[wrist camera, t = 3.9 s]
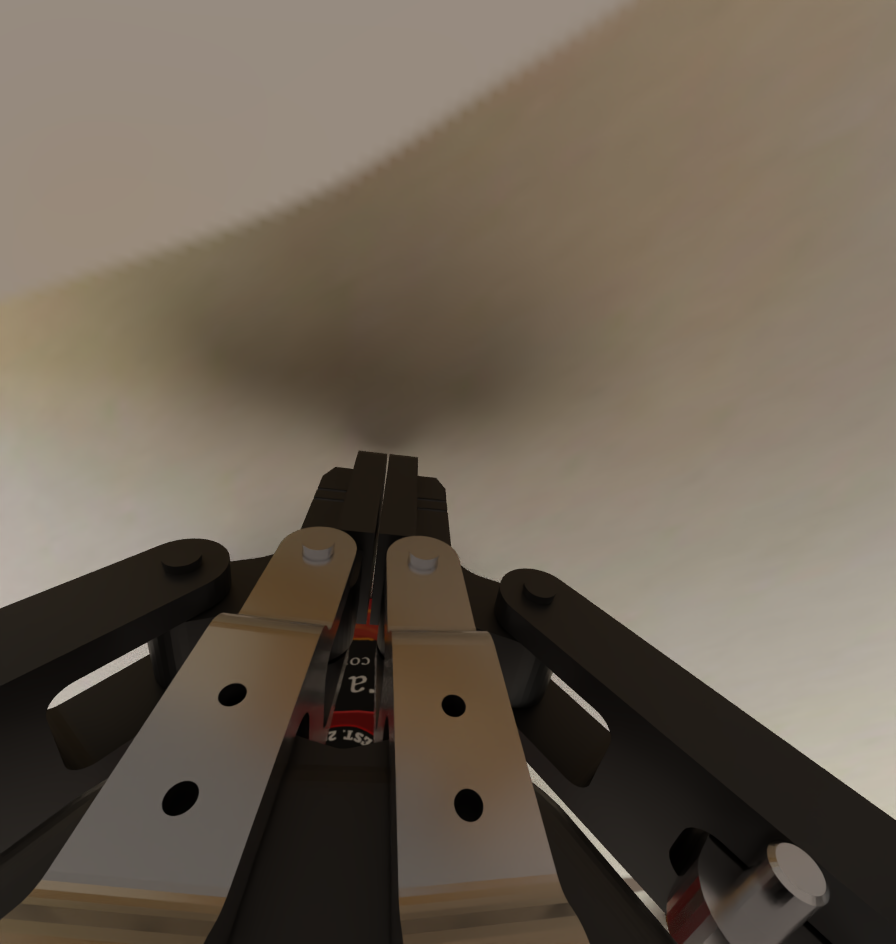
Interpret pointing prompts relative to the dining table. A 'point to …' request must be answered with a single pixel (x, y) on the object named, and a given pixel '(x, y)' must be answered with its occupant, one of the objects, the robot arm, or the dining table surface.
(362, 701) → the canned food
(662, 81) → the dining table surface
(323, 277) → the dining table surface
